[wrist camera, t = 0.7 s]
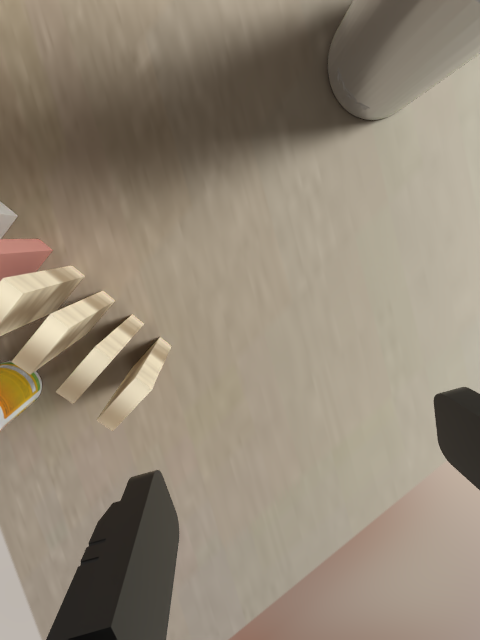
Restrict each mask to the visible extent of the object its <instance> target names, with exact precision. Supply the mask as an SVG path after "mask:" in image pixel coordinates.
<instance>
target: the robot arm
mask: <svg viewBox="0 0 480 640" xmlns="http://www.w3.org/2000/svg"><path fill="white" fill-rule="evenodd" d="M479 54H480V0H353V2H352V3H351V5H350V7H349V9H348V11H347V12H346V14H345V16H344V18H343V20H342V21H341V23H340V25H339V27H338V29H337V30H336V32H335V34H334V37H333V40H332V42H331V45H330V50H329V56H328V75H329V80H330V85H331V87H332V90H333V93H334V95H335V97H336V98H337V100H338V101H339V103H340V104H341V105H342V106H343V107H344V108H345V109H346V110H347V111H348V112H350V113H351V114H353V115H354V116H356V117H359V118H362V119H366V120H378V119H383V118H387V117H389V116H391V115H393V114H395V113H397V112H398V111H400V110H401V109H402V108H404V107H405V106H407V105H408V104H409V103H411V102H412V101H414V100H415V99H417V98H418V97H419V96H421V95H422V94H424V93H425V92H427V91H428V90H430V89H431V88H432V87H434V86H435V85H437V84H438V83H440V82H441V81H442V80H444V79H445V78H447V77H448V76H449V75H451V74H452V73H454V72H455V71H456V70H458V69H459V68H461V67H462V66H463V65H465V64H466V63H468V62H469V61H470V60H472V59H473V58H475V57H476V56H478V55H479ZM434 409H435V418H436V427H437V436H438V443H439V446H440V449H441V451H442V453H443V454H444V456H445V458H446V459H447V460H448V461H449V463H450V464H451V465H453V467H455V468H456V469H457V470H458V471H459V472H460V473H461V474H462V475H463V476H465V477H466V478H467V479H468V480H469V481H470V482H471V483H472V484H474V485H475V486H476V487H477V488H478V489H479V490H480V394H479V393H477V392H475V391H473V390H471V389H469V388H467V387H461V388H457V389H454V390H450V391H447V392H443V393H439V394H437V395H435V397H434ZM178 543H179V523H178V517H177V513H176V510H175V508H174V505H173V502H172V500H171V497H170V494H169V492H168V489H167V486H166V484H165V481H164V478H163V476H162V474H161V472H160V471H159V470H156V471H152V472H148V473H145V474H141V475H137V476H134V477H131V478H130V479H129V481H128V483H127V486H126V488H125V491H124V494H123V496H122V499H121V501H119V502H115V503H113V504H112V505H111V506H110V507H109V509H108V510H107V511H106V513H105V514H104V515H103V516H102V518H101V519H100V520H99V521H98V523H97V525H96V528H95V530H94V532H93V534H92V537H91V539H90V541H89V547H87V548H86V550H85V553H84V555H83V557H82V559H81V565H80V566H79V567H78V569H77V571H76V573H75V575H74V578H73V580H72V582H71V584H70V587H69V589H68V591H67V594H66V596H65V598H64V600H63V603H62V605H61V607H60V609H59V612H58V614H57V616H56V619H55V621H54V623H53V625H52V628H51V630H50V632H49V634H48V637H47V639H46V640H166V635H167V627H168V620H169V612H170V604H171V597H172V589H173V581H174V574H175V566H176V558H177V551H178Z"/></svg>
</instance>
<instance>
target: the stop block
mask: <svg viewBox="0 0 480 640" xmlns="http://www.w3.org/2000/svg"><path fill="white" fill-rule="evenodd" d="M17 217H18V215H16V214H15V213H14V212H13V211H11V210H10V209H9V208H8V207H6V206H5V205H4V204H3V203H2V202H0V239H1V238H2V237H3V235H4V234H5V233H6V231H7V230H8V229H9V227H10V226H11V225H12V223H13V222H14V221H15V219H16V218H17Z"/></svg>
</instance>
